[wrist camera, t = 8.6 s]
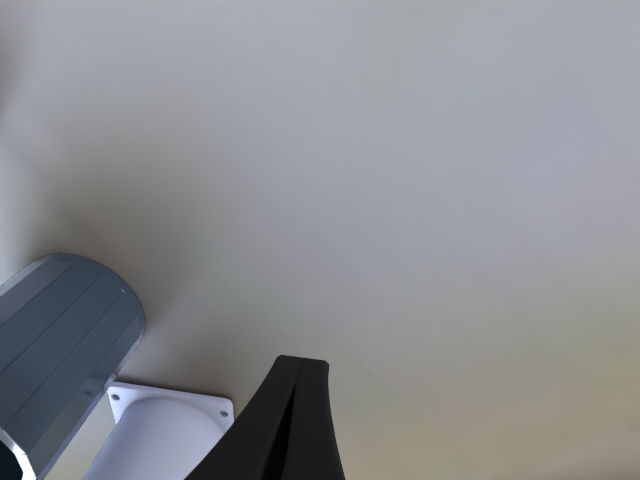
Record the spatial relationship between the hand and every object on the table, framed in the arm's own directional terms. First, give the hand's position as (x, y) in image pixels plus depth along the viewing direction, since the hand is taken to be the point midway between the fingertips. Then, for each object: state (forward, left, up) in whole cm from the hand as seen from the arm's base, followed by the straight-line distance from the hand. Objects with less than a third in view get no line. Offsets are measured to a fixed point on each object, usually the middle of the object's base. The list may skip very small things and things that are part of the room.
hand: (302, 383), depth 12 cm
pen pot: (-7, +14, -9) cm, 18 cm away
